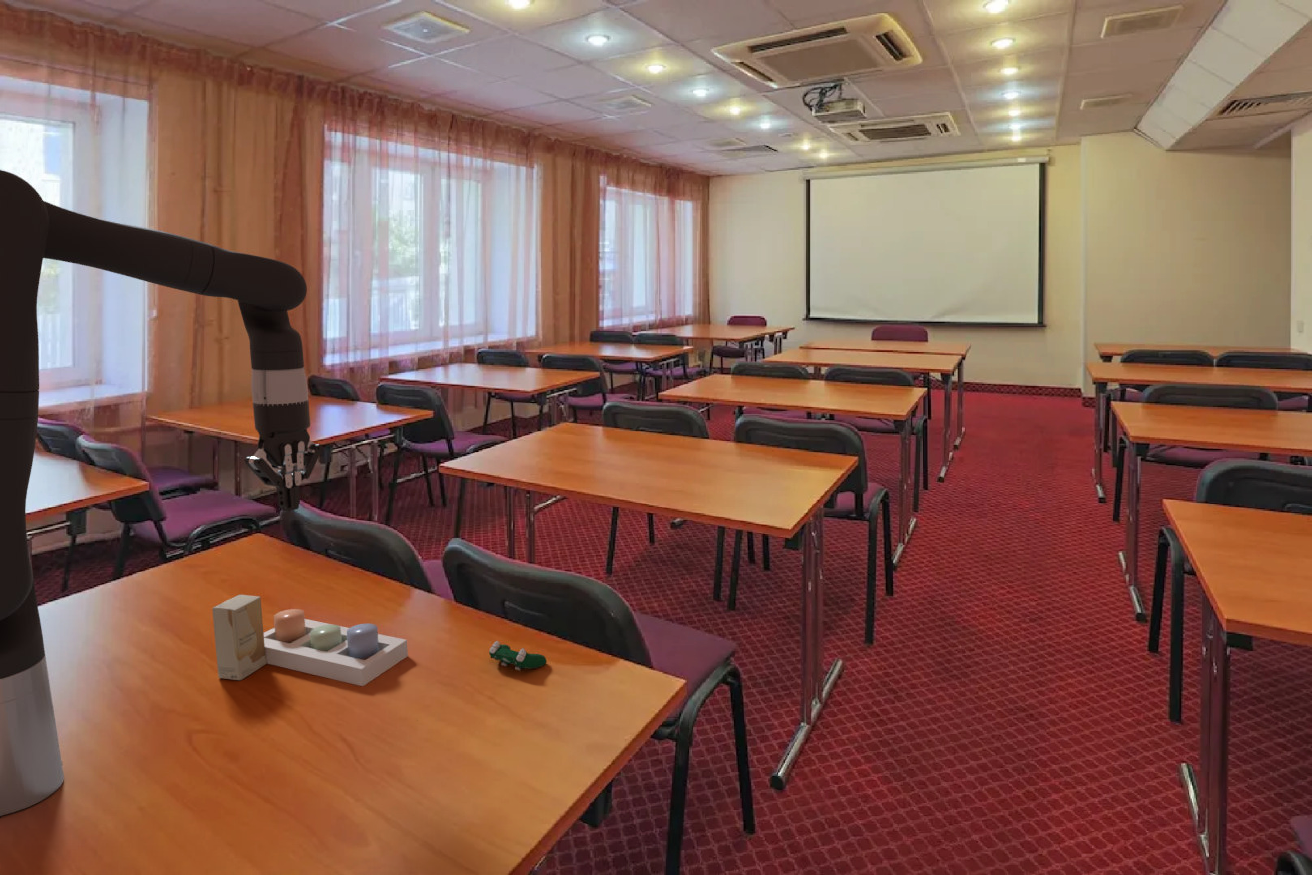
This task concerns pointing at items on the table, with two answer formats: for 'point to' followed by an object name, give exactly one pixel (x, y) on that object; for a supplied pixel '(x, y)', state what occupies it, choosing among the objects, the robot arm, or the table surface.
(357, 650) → the blue button
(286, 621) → the terracotta button
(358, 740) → the table surface
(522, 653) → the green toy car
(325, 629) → the green button
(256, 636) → the skincare box
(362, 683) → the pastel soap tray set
